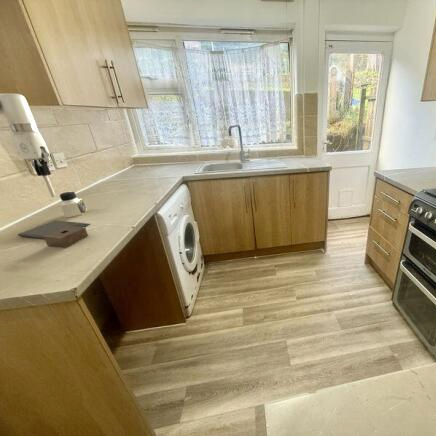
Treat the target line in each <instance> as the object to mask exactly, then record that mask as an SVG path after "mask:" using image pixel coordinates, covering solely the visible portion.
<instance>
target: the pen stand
mask: <svg viewBox="0 0 436 436" xmlns="http://www.w3.org/2000/svg"><path fill="white" fill-rule="evenodd" d="M87 236H88V237H89V234H88V231H87V229H86V227H85V228H82V227H73V226H67V227H64V228H62V229H59V230H57V231H54V232H52V233H49V234H47V235H44V236H43V237H44V239H43V240H44V242H45V243H46V246H47V247H51V248H59V247H61V248H60V249H67V248H68V246H69V247H71V246H73V245H75V244H76V243H75V242H77V241H79V240H81V239H83V238H85V237H86V238H88V237H87ZM86 238H85V239H86ZM83 240H84V239H83ZM81 241H82V240H81ZM79 242H80V241H79ZM74 243H75V244H74ZM77 243H78V242H77ZM72 244H73V245H72ZM70 245H71V246H70ZM66 247H67V248H66Z"/></svg>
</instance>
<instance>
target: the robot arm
mask: <svg viewBox="0 0 436 436" xmlns="http://www.w3.org/2000/svg"><path fill="white" fill-rule="evenodd" d="M0 115H3V116H4V118H5V120H6V122H7V125H8V126H9V128H10V129H9V130H10V131H11V134H12V139H13V143H14V145H15V149H16V150H17V153H18V155H19V157H20V159H23V160H25V161H27V162H29V163H30V164H31V166H32V167H33V168H34V171H35V173H36V176H37V177H43V176H46V175H47V176H50V175H52V173H51V170H50V167H49V166H48V165H49V161H51V158H50V157H51V154H50V151H49V148H48V146H47V144H46V142H45V140H44V138H43V137H42V134H41V133H40V130H39V128H38V125H37V122H36V121H35V118H34V116H33V113H32V110H31V108H30V105H29V103H28V101H27V99H26V97H25V96H24V95H22V94H20V93H11V92H10V93H7V92H4V93H2V92H1V93H0ZM37 163H38V164H37ZM38 165H39V166H38Z"/></svg>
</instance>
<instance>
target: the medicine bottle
mask: <svg viewBox="0 0 436 436" xmlns="http://www.w3.org/2000/svg"><path fill="white" fill-rule="evenodd" d="M59 198H60V200H61V202H62V203H61V204H60V205H59V207H60V209H61V211H62V213H63V215H64V217H65V218H71V217H72V218H73V217H76V216H77V217H78V216H82V215H84V214H85V213H86V212H87V210H88V209H87V207H86V205H85V203H84V200H83V198H78V196H77V194H76V192H75V191H64V192H62V193H60V194H59Z"/></svg>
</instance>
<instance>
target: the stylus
mask: <svg viewBox="0 0 436 436" xmlns="http://www.w3.org/2000/svg"><path fill="white" fill-rule="evenodd" d="M37 164H38V163H37ZM38 166H39V165H38ZM42 178H43V180H44V182H45V185H46V187H47V189H48V192H49V194H50V196H51V198H54V197H56V196H57V195H56V193H55V190H54V188H53V185H52V183H51V180H50V178H49V175H46V176H42Z"/></svg>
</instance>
